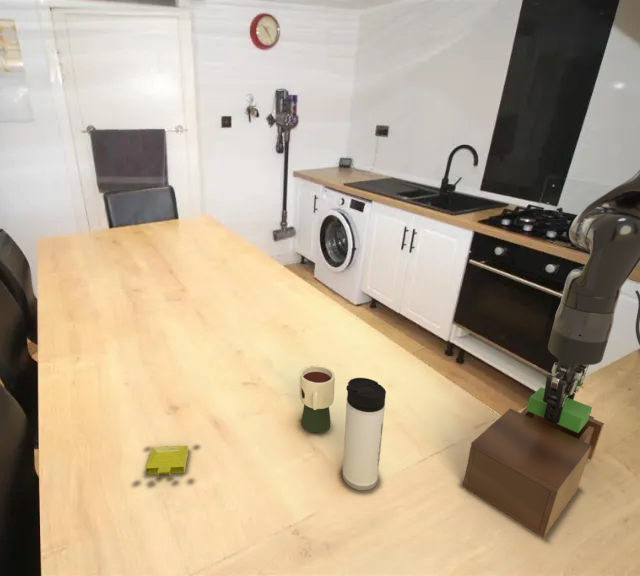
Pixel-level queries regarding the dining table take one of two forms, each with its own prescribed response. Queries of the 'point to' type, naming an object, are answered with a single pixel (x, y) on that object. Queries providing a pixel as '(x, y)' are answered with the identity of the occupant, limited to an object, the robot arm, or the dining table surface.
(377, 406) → the travel mug
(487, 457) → the cabinet
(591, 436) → the drawer
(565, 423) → the green block
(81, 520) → the dining table surface
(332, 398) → the character mug
